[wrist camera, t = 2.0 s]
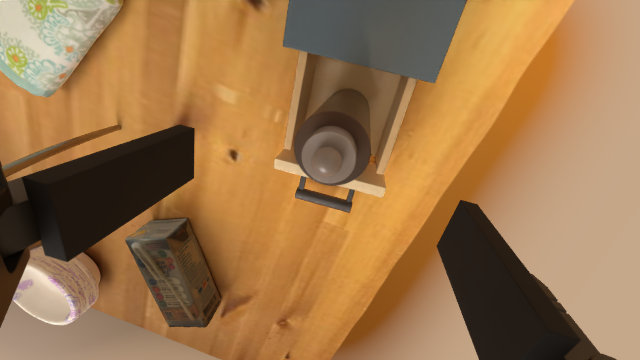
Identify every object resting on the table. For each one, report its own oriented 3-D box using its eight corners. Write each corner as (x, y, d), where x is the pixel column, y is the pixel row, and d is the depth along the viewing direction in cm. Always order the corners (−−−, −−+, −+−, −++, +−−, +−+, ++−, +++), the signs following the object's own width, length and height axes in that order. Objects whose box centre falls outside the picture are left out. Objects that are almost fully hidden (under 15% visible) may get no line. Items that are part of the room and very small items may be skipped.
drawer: (370, 201, 37) (370, 229, 31) (284, 178, 38) (268, 201, 31) (425, 44, 28) (441, 39, 22) (312, 17, 29) (298, 6, 23)
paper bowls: (30, 235, 53) (-23, 263, 46) (90, 232, 50) (44, 261, 43) (69, 293, 59) (28, 325, 52) (126, 293, 56) (90, 328, 48)
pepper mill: (330, 83, 30) (288, 110, 14) (375, 94, 30) (384, 134, 14) (321, 127, 33) (274, 193, 16) (362, 138, 32) (357, 216, 16)
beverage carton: (190, 215, 44) (162, 240, 38) (225, 300, 52) (206, 332, 46) (150, 218, 46) (117, 242, 40) (189, 300, 53) (167, 330, 47)
